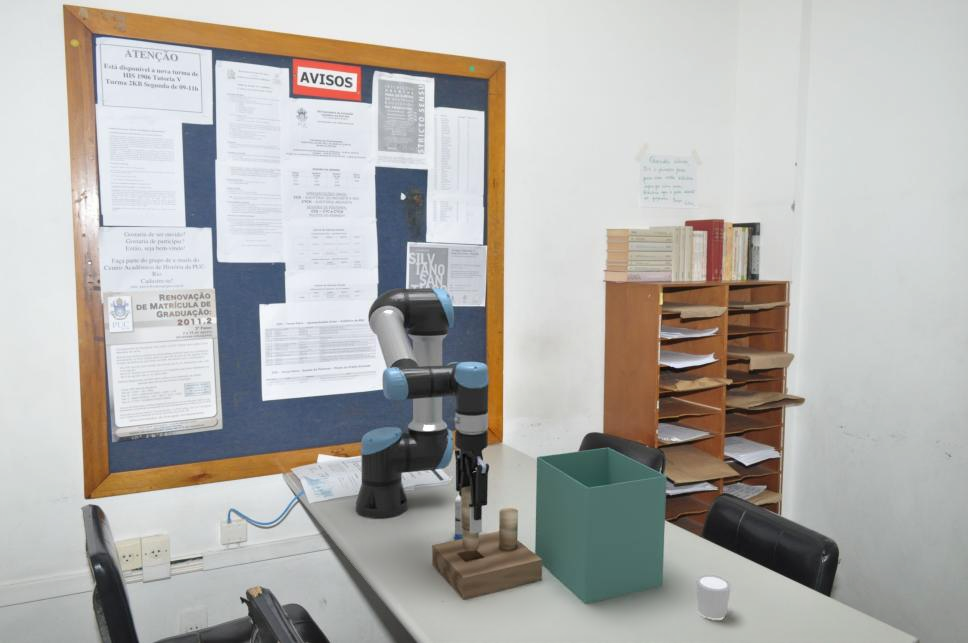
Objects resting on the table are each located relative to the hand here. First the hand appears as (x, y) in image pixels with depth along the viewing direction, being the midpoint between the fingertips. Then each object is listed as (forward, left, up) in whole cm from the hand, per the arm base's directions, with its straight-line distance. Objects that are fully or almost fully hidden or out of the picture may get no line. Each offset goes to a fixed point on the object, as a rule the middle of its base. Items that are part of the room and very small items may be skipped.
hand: (470, 527), depth 156 cm
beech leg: (0, 0, -5) cm, 5 cm away
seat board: (0, +4, -12) cm, 12 cm away
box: (+11, +28, -12) cm, 32 cm away
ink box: (-19, +8, -12) cm, 24 cm away
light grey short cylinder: (+37, +39, -12) cm, 55 cm away
